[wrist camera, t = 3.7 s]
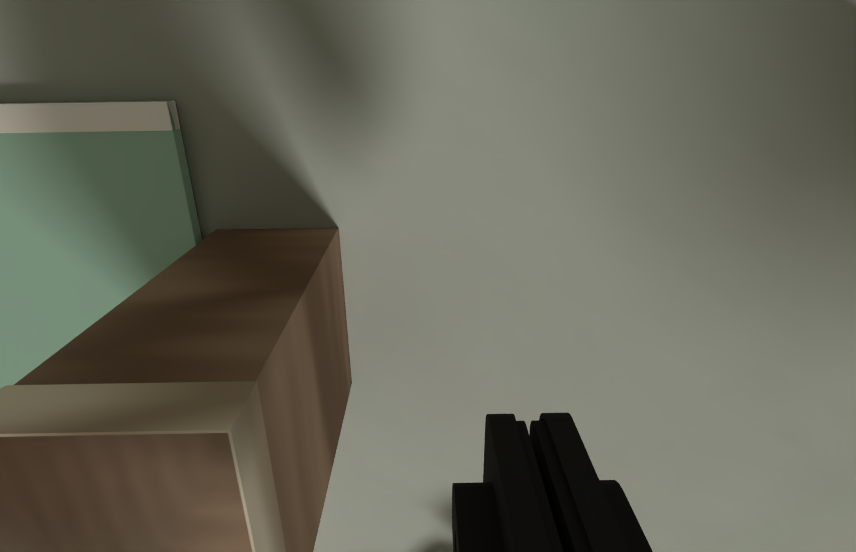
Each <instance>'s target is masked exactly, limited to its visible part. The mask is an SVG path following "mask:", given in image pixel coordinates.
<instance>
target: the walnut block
mask: <svg viewBox="0 0 856 552" xmlns="http://www.w3.org/2000/svg"><path fill="white" fill-rule="evenodd" d="M351 384H352V380H351V368H350V357H349V345H348V333H347V321H346V310H345V298H344V286H343V274H342V263H341V251H340V239H339V228H296V229H234V230H215V231H214V232H213V233H211V234H210V235H209V236H207V237H206V238H205V239H203V240H202V241H201V242H199V243H198V244H197V245H196V246H194V247H193V248H192V249H190V250H189V251H188V252H186V253H185V254H184V255H183V256H181V257H180V258H179V259H177V260H176V261H175V262H173V263H172V264H171V265H169V266H168V267H167V268H166V269H164V270H163V271H162V272H160V273H159V274H158V275H156V276H155V277H154V278H152V279H151V280H150V281H149V282H147V283H146V284H145V285H143V286H142V287H141V288H139V289H138V290H137V291H135V292H134V293H133V294H132V295H130V296H129V297H128V298H126V299H125V300H124V301H122V302H121V303H120V304H119V305H117V306H116V307H115V308H113V309H112V310H111V311H109V312H108V313H107V314H105V315H104V316H103V317H102V318H100V319H99V320H98V321H96V322H95V323H94V324H92V325H91V326H90V327H88V328H87V329H86V330H85V331H83V332H82V333H81V334H79V335H78V336H77V337H75V338H74V339H73V340H71V341H70V342H69V343H68V344H66V345H65V346H64V347H62V348H61V349H60V350H58V351H57V352H56V353H55V354H53V355H52V356H51V357H49V358H48V359H47V360H45V361H44V362H43V363H41V364H40V365H39V366H38V367H36V368H35V369H34V370H32V371H31V372H30V373H28V374H27V375H26V376H24V377H23V378H22V379H21V380H19V381H18V382H17V383H15V384H14V385H5V386H4V387H3V388H1V389H0V552H313V549H314V545H315V541H316V536H317V532H318V528H319V523H320V519H321V514H322V510H323V506H324V501H325V497H326V493H327V488H328V484H329V480H330V475H331V471H332V466H333V462H334V458H335V453H336V449H337V445H338V440H339V436H340V432H341V427H342V423H343V418H344V414H345V410H346V405H347V401H348V397H349V392H350V388H351Z"/></svg>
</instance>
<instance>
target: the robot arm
mask: <svg viewBox="0 0 856 552" xmlns="http://www.w3.org/2000/svg"><path fill="white" fill-rule="evenodd" d="M452 530H453V552H652V549H651V547H650V545H649V543H648V541H647V539H646V537H645V535H644V533H643V531H642V529H641V527H640V525H639V522H638V520H637V518H636V516H635V514H634V512H633V510H632V508H631V506H630V504H629V502H628V500H627V498H626V495H625V493H624V491H623V489H622V488H621V486H620V484H619V483H618V482H617V481H615V480H599V479H598V476H597V474H596V472H595V469H594V467H593V465H592V463H591V460H590V458H589V456H588V453H587V451H586V449H585V446H584V444H583V442H582V440H581V437H580V435H579V433H578V430H577V428H576V426H575V423H574V421H573V419H572V417H571V415H570V414H569V413H542V414H541V415H540V419H539V421H531V425H530V435H529V434H528V430H527V427H526V424H525V422H524V421H516V419H515V416H514V414H487V415H486V423H485V449H484V474H483V483H453V486H452Z"/></svg>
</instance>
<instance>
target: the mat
mask: <svg viewBox="0 0 856 552" xmlns="http://www.w3.org/2000/svg"><path fill="white" fill-rule="evenodd" d="M201 241H202V237H201V231H200V226H199V221H198V216H197V211H196V206H195V201H194V196H193V190H192V185H191V180H190V175H189V170H188V165H187V160H186V155H185V149H184V144H183V139H182V134H181V129H180V124H179V119H178V113H177V108H176V103H175V101H111V102H45V103H0V389H1V388H3V387H4V386H5V385H14V384H15V383H17V382H18V381H19V380H21V379H22V378H23V377H24V376H26V375H27V374H28V373H30V372H31V371H32V370H34V369H35V368H36V367H38V366H39V365H40V364H41V363H43V362H44V361H45V360H47V359H48V358H49V357H51V356H52V355H53V354H55V353H56V352H57V351H58V350H60V349H61V348H62V347H64V346H65V345H66V344H68V343H69V342H70V341H71V340H73V339H74V338H75V337H77V336H78V335H79V334H81V333H82V332H83V331H85V330H86V329H87V328H88V327H90V326H91V325H92V324H94V323H95V322H96V321H98V320H99V319H100V318H102V317H103V316H104V315H105V314H107V313H108V312H109V311H111V310H112V309H113V308H115V307H116V306H117V305H119V304H120V303H121V302H122V301H124V300H125V299H126V298H128V297H129V296H130V295H132V294H133V293H134V292H135V291H137V290H138V289H139V288H141V287H142V286H143V285H145V284H146V283H147V282H149V281H150V280H151V279H152V278H154V277H155V276H156V275H158V274H159V273H160V272H162V271H163V270H164V269H166V268H167V267H168V266H169V265H171V264H172V263H173V262H175V261H176V260H177V259H179V258H180V257H181V256H183V255H184V254H185V253H186V252H188V251H189V250H190V249H192V248H193V247H194V246H196V245H197V244H198V243H199V242H201Z"/></svg>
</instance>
